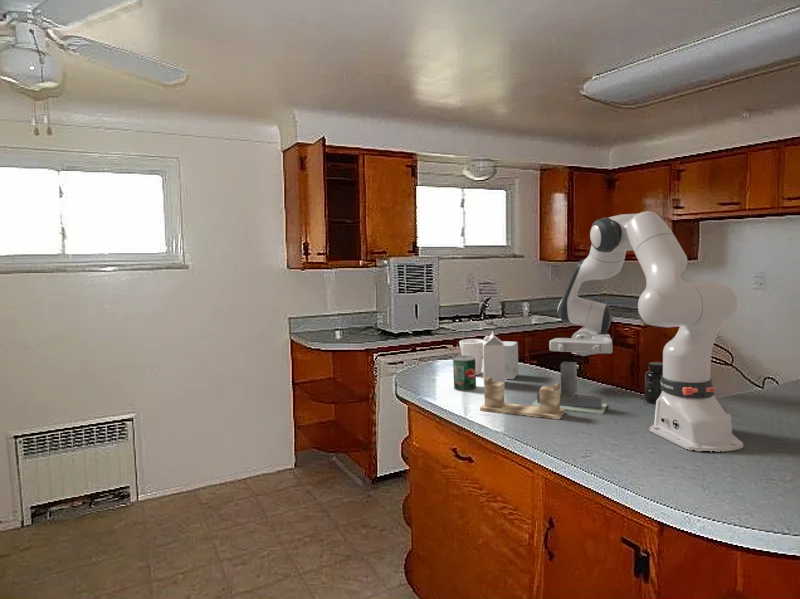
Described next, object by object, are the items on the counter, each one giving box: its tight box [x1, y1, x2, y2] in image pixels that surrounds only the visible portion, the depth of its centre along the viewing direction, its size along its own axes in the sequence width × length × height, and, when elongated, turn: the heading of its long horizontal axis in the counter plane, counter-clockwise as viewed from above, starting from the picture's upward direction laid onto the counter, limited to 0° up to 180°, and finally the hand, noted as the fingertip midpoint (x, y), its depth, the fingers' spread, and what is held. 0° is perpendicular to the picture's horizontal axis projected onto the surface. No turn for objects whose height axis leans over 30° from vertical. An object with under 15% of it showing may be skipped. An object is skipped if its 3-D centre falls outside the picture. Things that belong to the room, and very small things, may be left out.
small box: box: [501, 340, 519, 380], centre depth 206 cm, size 8×6×13 cm
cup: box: [458, 338, 484, 376], centre depth 213 cm, size 10×10×13 cm
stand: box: [479, 377, 566, 421], centre depth 165 cm, size 24×7×10 cm, turn 62°
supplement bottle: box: [644, 361, 663, 405], centre depth 169 cm, size 7×7×12 cm
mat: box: [530, 399, 608, 415], centre depth 169 cm, size 21×9×1 cm, turn 62°
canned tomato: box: [452, 355, 477, 392], centre depth 194 cm, size 8×8×11 cm
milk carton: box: [482, 330, 506, 387], centre depth 197 cm, size 7×7×19 cm
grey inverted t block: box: [536, 361, 603, 409], centre depth 168 cm, size 19×4×13 cm, turn 62°
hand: (576, 349), depth 178 cm, fingers open, 8 cm apart
